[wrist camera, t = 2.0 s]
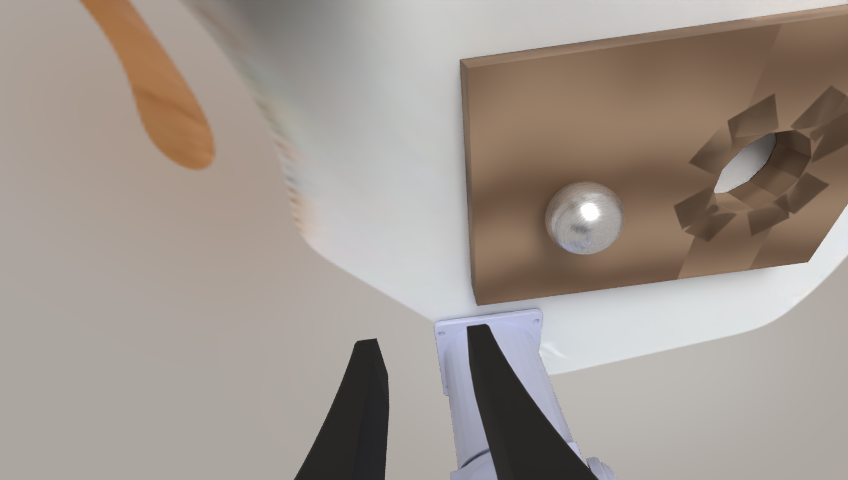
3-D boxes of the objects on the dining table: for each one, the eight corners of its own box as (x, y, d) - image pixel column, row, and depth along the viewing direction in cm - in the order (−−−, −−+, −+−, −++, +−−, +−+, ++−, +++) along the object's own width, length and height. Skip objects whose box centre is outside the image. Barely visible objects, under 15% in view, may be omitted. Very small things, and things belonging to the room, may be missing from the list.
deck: (780, 243, 24) (808, 262, 22) (471, 284, 24) (477, 305, 23) (929, -8, 16) (990, -7, 14) (460, 59, 16) (467, 68, 14)
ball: (596, 223, 19) (631, 264, 17) (533, 232, 20) (556, 274, 17) (608, 164, 17) (650, 199, 15) (537, 174, 17) (565, 211, 15)
